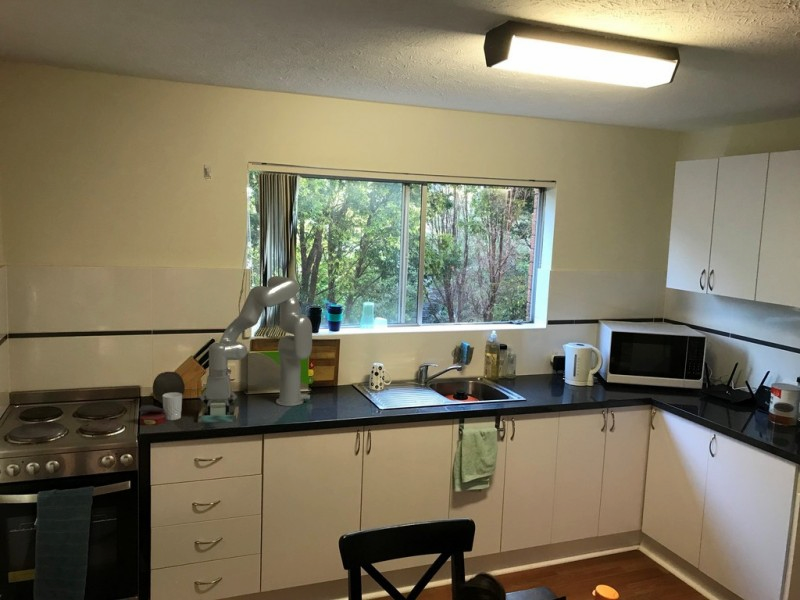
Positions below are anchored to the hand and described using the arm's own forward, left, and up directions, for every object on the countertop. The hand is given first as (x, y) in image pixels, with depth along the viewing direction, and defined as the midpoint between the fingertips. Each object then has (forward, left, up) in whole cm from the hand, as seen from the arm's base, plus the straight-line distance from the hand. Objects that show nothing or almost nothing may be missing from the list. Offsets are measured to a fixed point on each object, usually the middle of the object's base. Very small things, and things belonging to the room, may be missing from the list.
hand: (218, 413), depth 273 cm
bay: (0, -1, -2) cm, 2 cm away
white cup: (+19, -2, -2) cm, 19 cm away
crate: (0, 0, -1) cm, 1 cm away
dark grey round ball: (+24, -22, -2) cm, 33 cm away
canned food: (+26, +3, -2) cm, 26 cm away
